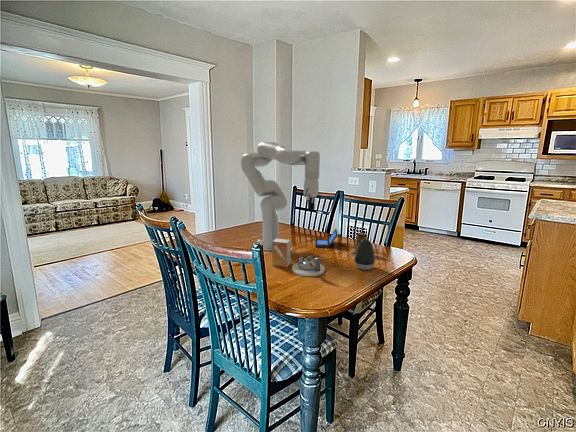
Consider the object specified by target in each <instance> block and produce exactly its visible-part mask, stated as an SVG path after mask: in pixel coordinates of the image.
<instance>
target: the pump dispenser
mask: <svg viewBox="0 0 576 432" xmlns="http://www.w3.org/2000/svg"><path fill="white" fill-rule="evenodd" d="M357 241H358V242H359V245H358V247H357V250H356V249H355V252H356V253H355V255H354V260H353V261H354V264H355V266H356V268H358V269H360V270H362V271H367V270H368V271H369V270H372V269H373V267H374V266H375V264H376V255H375V249H374V246H373V244H372V242H371V240H369V239H368V238H367V239H363V240H362V241H361V240H359V239H357Z"/></svg>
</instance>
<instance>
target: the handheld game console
mask: <svg viewBox="0 0 576 432" xmlns="http://www.w3.org/2000/svg"><path fill="white" fill-rule="evenodd" d="M338 234H339V233H338V230H337V228H335V229H334V230H333V231H332V233H331V235H330V236H329V238H326V239H324V238H316V239H315V242H314V247H315V248H316V249H318V248H319V249H330V248H331V246H332V244H333V243H334V241H335V240H336V238H338Z"/></svg>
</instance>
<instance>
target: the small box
mask: <svg viewBox="0 0 576 432" xmlns="http://www.w3.org/2000/svg"><path fill="white" fill-rule="evenodd" d="M291 246H292V240H291V239H286V238H278V239H275V240H274V241H273V243H272V255H271V256H272V258H271V259H272V261H271V262H272V263H271V265H272V266H274V267H283V268H288V266H290V264H291V256H292V255H291V251H292V250H291Z"/></svg>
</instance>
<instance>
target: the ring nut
mask: <svg viewBox="0 0 576 432" xmlns="http://www.w3.org/2000/svg"><path fill="white" fill-rule="evenodd" d="M298 259H299V260H298V262H297V263H298V268H299V269H301V270H306V271H313V270H315V271H317V272H318V271H320V264H321V257H315V258H312V256H311V255H310V256H307V257H303V256H300V257H299V258H298Z"/></svg>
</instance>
